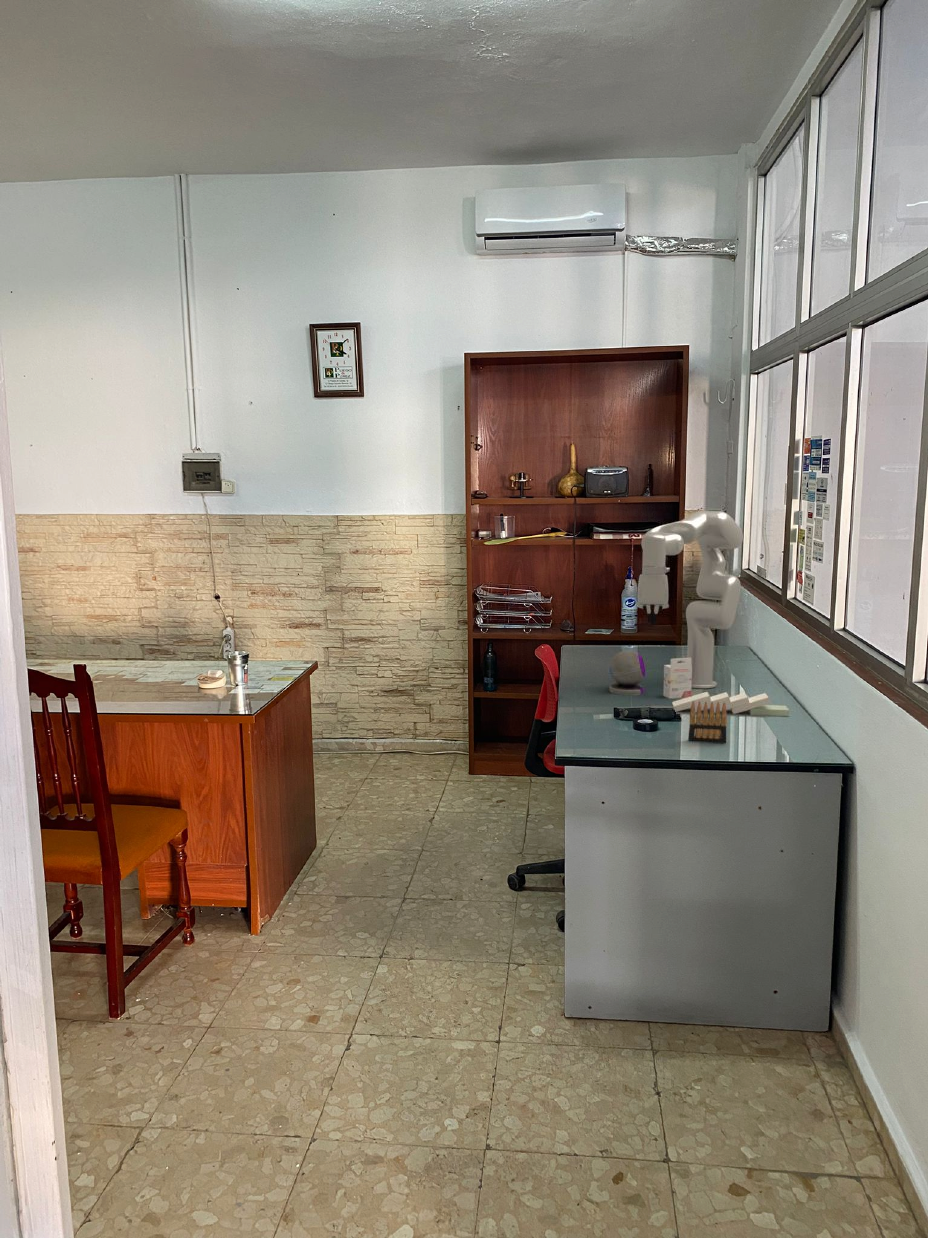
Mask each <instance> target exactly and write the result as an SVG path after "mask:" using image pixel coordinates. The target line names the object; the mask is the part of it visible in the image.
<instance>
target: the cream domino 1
mask: <svg viewBox="0 0 928 1238" xmlns="http://www.w3.org/2000/svg"><path fill="white" fill-rule="evenodd" d="M710 697H711V695H710V694H709V692H708V691H706V692H702V693H701V692H700V693H698V694H694V695H691V697H686V698H680V699H678V700H674V701H672V706H673V707H674V710H675V712H678V711H681V710H684V709H688V708H691V705H692V702H693V701H694V703H695V706H698V703H699V701H700V702H701V704H705V702H707V703H708V702H711V699H710Z"/></svg>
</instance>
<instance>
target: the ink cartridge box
mask: <svg viewBox="0 0 928 1238" xmlns="http://www.w3.org/2000/svg"><path fill="white" fill-rule="evenodd" d="M691 682H692V666H691V658H687V657H679V658H677V657H676V658H670V664H663V695H662V696H664V697H666V698H667V699H684V698H688V697H691V696H692V687H691Z"/></svg>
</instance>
